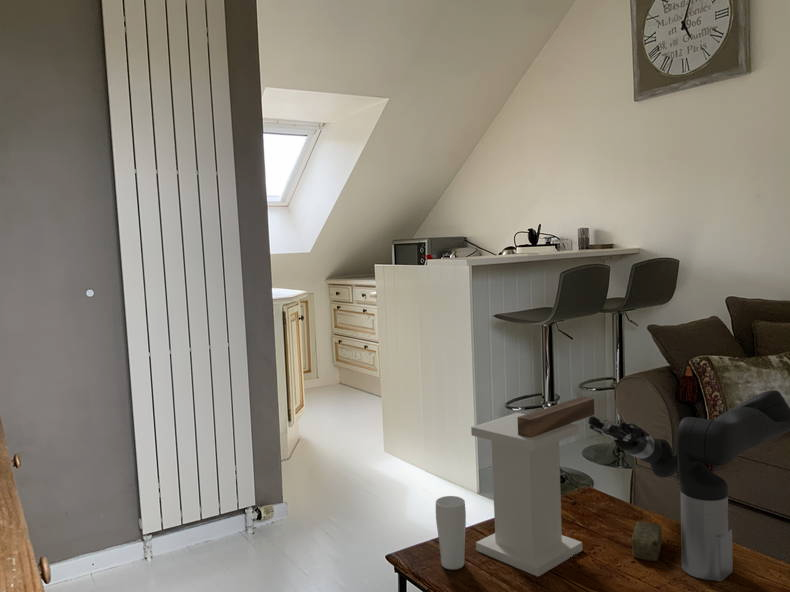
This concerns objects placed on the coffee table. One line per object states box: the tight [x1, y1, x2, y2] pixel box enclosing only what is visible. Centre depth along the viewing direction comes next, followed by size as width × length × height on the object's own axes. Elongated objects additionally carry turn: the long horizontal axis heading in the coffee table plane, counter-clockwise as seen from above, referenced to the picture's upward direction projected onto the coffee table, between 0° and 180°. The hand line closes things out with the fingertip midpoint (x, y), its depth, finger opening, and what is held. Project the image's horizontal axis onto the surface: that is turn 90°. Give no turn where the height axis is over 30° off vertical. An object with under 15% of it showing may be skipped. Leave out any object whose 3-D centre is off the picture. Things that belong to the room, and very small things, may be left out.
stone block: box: [631, 520, 662, 562], centre depth 152 cm, size 6×12×5 cm, turn 155°
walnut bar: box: [517, 396, 595, 438], centre depth 153 cm, size 4×25×4 cm, turn 131°
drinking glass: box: [435, 495, 467, 571], centre depth 149 cm, size 7×7×15 cm
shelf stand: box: [470, 412, 583, 578], centre depth 154 cm, size 18×17×30 cm
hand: (605, 422), depth 166 cm, fingers open, 8 cm apart
